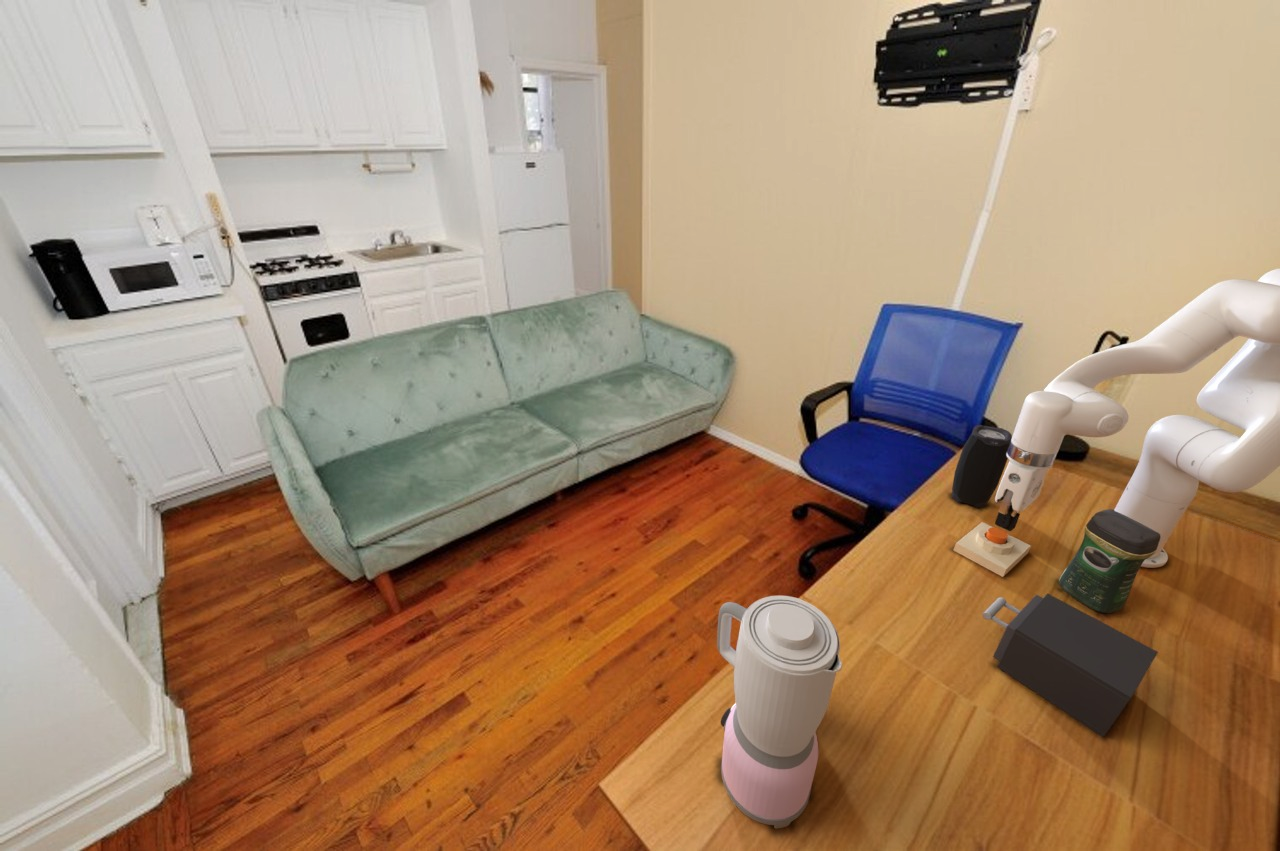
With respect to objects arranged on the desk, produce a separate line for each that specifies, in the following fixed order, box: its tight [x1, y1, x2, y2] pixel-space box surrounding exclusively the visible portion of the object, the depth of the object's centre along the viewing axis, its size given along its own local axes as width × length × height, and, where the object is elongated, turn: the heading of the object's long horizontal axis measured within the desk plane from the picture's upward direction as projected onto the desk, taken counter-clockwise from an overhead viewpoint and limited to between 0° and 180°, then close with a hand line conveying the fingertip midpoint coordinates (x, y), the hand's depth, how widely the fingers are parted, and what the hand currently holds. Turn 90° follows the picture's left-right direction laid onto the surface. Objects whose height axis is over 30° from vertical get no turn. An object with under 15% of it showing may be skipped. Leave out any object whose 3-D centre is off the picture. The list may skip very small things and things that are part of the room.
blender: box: [716, 594, 843, 829], centre depth 65 cm, size 16×12×32 cm
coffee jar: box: [1058, 508, 1161, 614], centre depth 95 cm, size 10×8×19 cm
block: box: [953, 521, 1032, 578], centre depth 110 cm, size 12×10×4 cm
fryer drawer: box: [982, 594, 1044, 662], centre depth 84 cm, size 18×11×8 cm, turn 35°
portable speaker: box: [951, 424, 1013, 509], centre depth 123 cm, size 9×9×20 cm
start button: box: [986, 527, 1009, 545], centre depth 108 cm, size 4×4×2 cm
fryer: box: [997, 593, 1159, 738], centre depth 82 cm, size 15×13×10 cm
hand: (1004, 526), depth 107 cm, fingers closed
